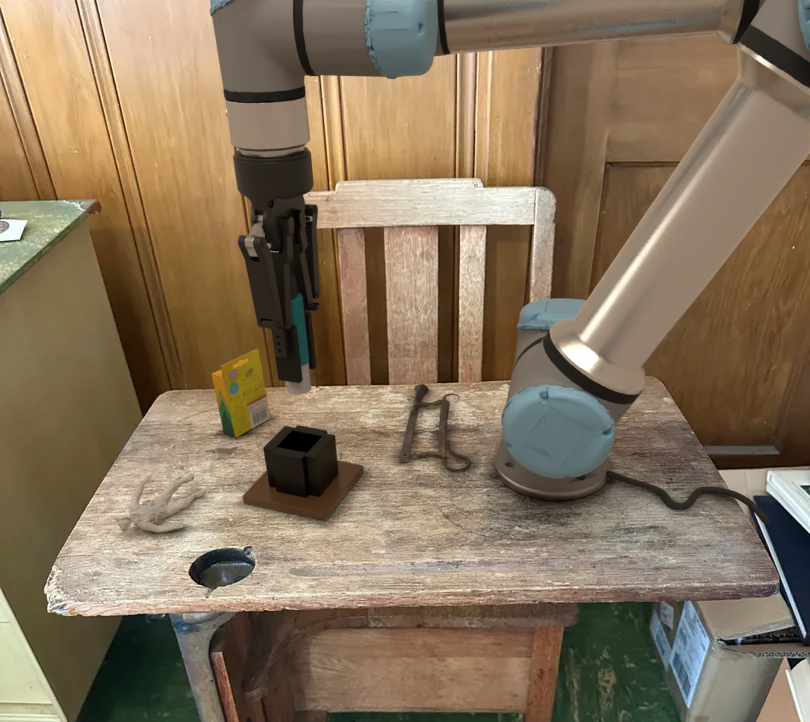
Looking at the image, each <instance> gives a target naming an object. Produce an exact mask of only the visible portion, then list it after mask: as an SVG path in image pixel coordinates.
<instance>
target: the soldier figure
mask: <svg viewBox="0 0 810 722" xmlns="http://www.w3.org/2000/svg"><path fill="white" fill-rule="evenodd" d="M152 477H153V474H147V475H146V476H144V477H143V479H142V480H141V482H139V483H138V486H137V487H136V489H135V490H134V492H133V494H132V497H131V500H130V503H129V505H128V508H127V509H128V515H123V516H121V517H114V520H115V522H116V523H117V525H118V527H119V529H120V530H122V531H123V533H125V535H127V532H128V530H129V529H130V527H131V525H132V524H134V525H136V526H138V527H139V528H140V529H141V530H144V531H149V532H154V533H167V532H172V531H174V530H180V529H182V528H184V527H185V526H186V524H185V522H183V521H179V522H176V523H174V524H169V525H168V524H167V525H162V524H161V525H160V524H159V525H157V524H155V523H156V522H159V521H160V520H164V519H166V518H167V517H170V516H172V515H174V514H176V513H178V512H180V511H181V510H182V509H186V508H187V507H190V506H191V503H192V502H193V501H194V500H195V498H200V497H202V496H204V495H205V494H206V491H205V489H204V488H201V489H199V490H197V491H194V492H193V493H191V494H190V495H189V496H186V497H182V498H181V499H179V500H176V501H174V502H171V503H169V502H170V500H171V498H172V497H173V495H174V494H176V492H177V491H178V490H179V489H180V488H181V486H182V485H184V484H188V483H190V482H192V481H194V480H195V474H194V473H193V472H191V473H189V474H188V475H186V476H184V477H183V478H181V479H178V480H177V481H173V482H170V484H169V485H167V486H165V487H164V489H163V490H162V492H161V493H160V494H159V495H158V496H157V498H154V499H152V500H151V499H146V500H144V501H142V503H141V504H140V499H141V497H142V495H143V492H144V489H145V485H146V484H150V483H152V482H153V481H152V480H150V479H151V478H152ZM149 480H150V481H149ZM153 522H154V523H153Z"/></svg>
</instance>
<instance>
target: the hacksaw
mask: <svg viewBox="0 0 810 722" xmlns="http://www.w3.org/2000/svg"><path fill="white" fill-rule="evenodd" d="M414 391H415V393H414V399H413V401H412V402H413V403H412V407H411V408H410V411H409V415H408V421H407V424H406V428H405V432H404V437H403V441H402V445H401V450H400V451H399V453H398V462H399V463H405V464H408V461H409V459H410V460H415V459H416V460H417V459H421V458H426V457H435V458H440V460H441V462H440V463H441V464H443V466H444V468H445V469H447V470H448V471H450V472H454V473H455V472H464V471H466V470H468V469H469V468H470V467H471V465H472V461H471V459H470V458H469V457H468V456H465V455H461V454H458V453H456V452H454V451H452V450H451V442H450V441H449V440H447V425H448V418H449V411H450V403H451V402H450V401H449V400H448V399H447V397H449V396H457V400H456V401H455V402H454V404H456V403H457V402H459V401H460V399H461V398H460V395H458V394H456V393H446V394H444V395H443V397H441V399H437V400H433V401H430V402H429V401H428V402H427V401H425V402H424V401H423V398H424V396H425V395H426V394H428V392H429V391H430V389H429V387H428V385H426V384H424V383H420V384H419V383H418V384H416V385H415V386H414ZM439 406H440V414H439V425H438V451H424V452H419V453H416V451H414V452H413V453H411V447H412V443H413V442H412V441H413V436H414V432H415V429H416V423H417V419H418V415H419V414H418V413H419V410H420V408H426V409H427V410H429V408H434V407H439ZM447 452H448V453H449V454H450V455H452V456H454V457H457V458H460V459H463V460H466V461H467V465H466V466H465V467H462V468H461V467H460V468H452V467H450V466H448V465H447V463H448V461H447V459H448V453H447Z"/></svg>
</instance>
